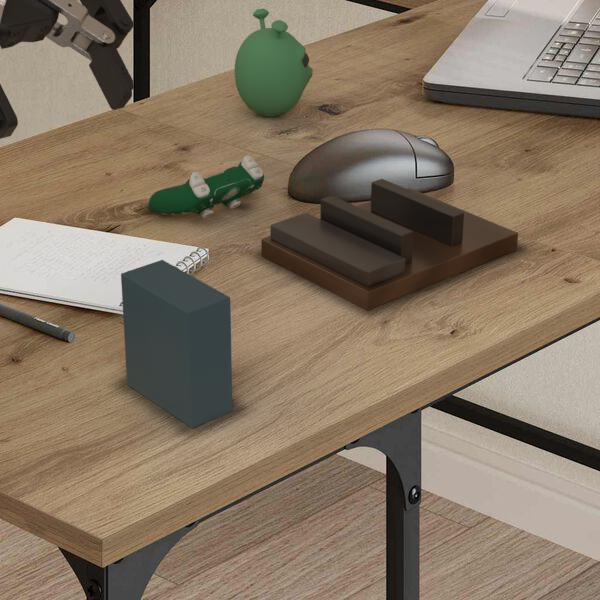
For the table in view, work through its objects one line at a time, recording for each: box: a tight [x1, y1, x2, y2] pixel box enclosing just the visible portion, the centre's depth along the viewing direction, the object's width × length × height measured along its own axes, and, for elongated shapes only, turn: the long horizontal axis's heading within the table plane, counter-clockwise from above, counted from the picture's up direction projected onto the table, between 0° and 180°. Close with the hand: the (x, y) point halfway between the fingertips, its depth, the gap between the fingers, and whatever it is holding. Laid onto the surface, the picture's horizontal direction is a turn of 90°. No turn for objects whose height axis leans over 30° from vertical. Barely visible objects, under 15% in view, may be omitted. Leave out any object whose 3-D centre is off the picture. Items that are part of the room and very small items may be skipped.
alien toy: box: [234, 8, 314, 117], centre depth 136 cm, size 7×8×10 cm
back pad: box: [120, 259, 233, 429], centre depth 88 cm, size 3×7×8 cm, turn 41°
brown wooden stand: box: [260, 178, 519, 311], centre depth 109 cm, size 16×12×4 cm
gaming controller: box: [147, 154, 265, 219], centre depth 116 cm, size 9×4×6 cm
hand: (68, 117), depth 90 cm, fingers open, 8 cm apart
